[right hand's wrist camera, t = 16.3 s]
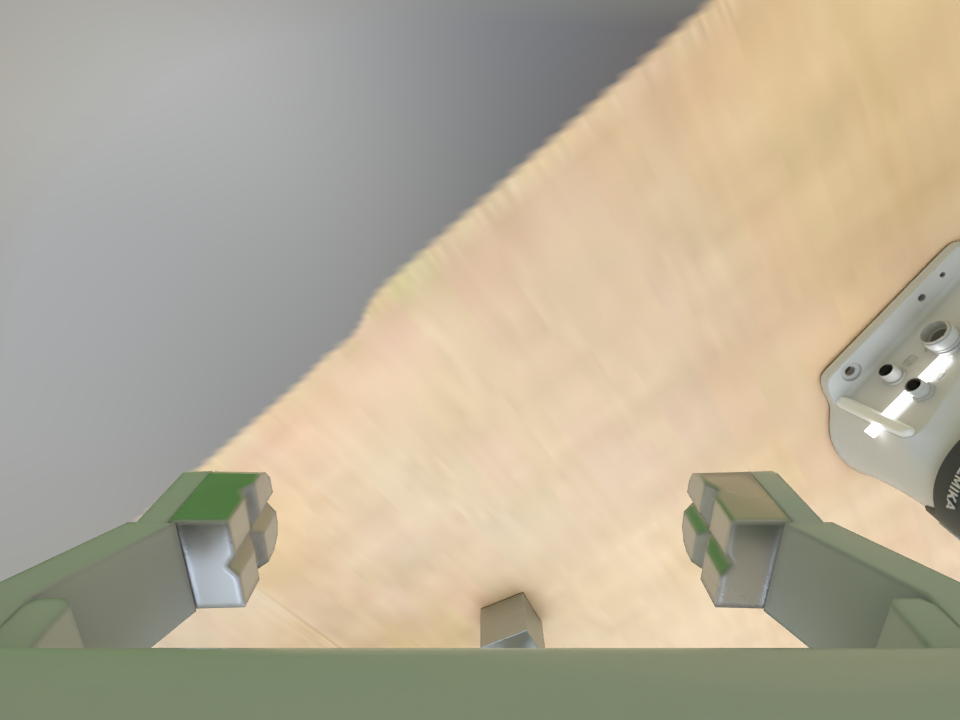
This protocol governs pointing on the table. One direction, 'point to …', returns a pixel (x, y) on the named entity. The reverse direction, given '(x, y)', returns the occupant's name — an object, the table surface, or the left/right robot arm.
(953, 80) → the table surface
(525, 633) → the block
